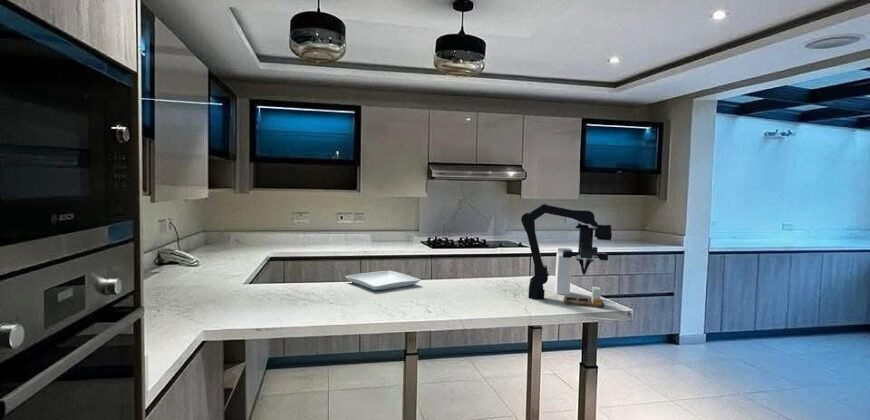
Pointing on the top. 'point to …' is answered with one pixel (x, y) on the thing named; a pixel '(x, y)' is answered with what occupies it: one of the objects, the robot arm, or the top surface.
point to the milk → (562, 273)
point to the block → (596, 293)
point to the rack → (583, 302)
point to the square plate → (382, 280)
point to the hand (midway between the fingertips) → (583, 274)
